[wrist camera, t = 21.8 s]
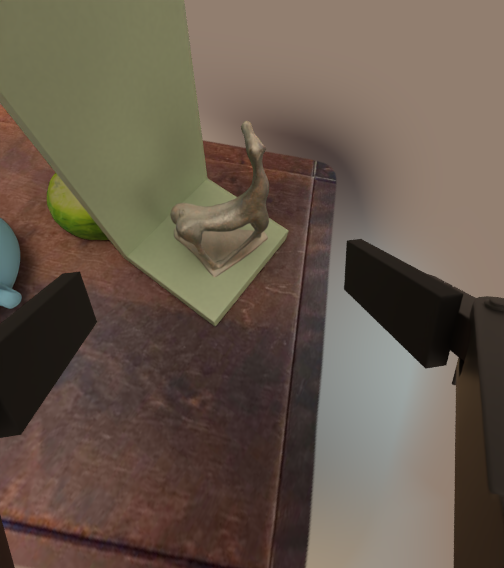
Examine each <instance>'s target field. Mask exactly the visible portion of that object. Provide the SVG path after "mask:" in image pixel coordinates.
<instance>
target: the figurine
mask: <svg viewBox="0 0 504 568" xmlns="http://www.w3.org/2000/svg"><path fill="white" fill-rule="evenodd" d="M241 129H242V132H243V134H244V138H245V144H246V151H247V155H248V157H249V159H250V162H251V164H252V167H253V180H252V184H251V186H250V188H249V189H248V190H247V191H246V192H245V193H244V194H242V195H240V196H239V197H237V198H235V199H233V200H231V201H228V202H226V203H222V204H218V205H214V206H208V207H205V206H197V205H193V204H188V203H178V204H176V205H175V206H174V207H173V208H172V210H171V213H170V216H171V220H172V222H173V223H174V224H176V228H175V229H174V237H175V239H176V240H178V241H179V242H180V243H181V244H183V245H184V246H185V247H186V248H187V249H189V250H190V251H191V252H192V253H193V254H194V255H195V256H196V257H197V258H198V259H199V260H200V262H201V263H202V264H203V265H204V267H205V268H206V269H207V271H208V272H209V273H210V274H211V275H212V276H213V277H217V276H218V275H220V274H221V273H223V272H225V271H226V270H228V269H229V268H231V267H232V266H234V265H235V264H236V263H238V262H239V261H241V260H242V259H244V258H245V257H246V256H248V255H249V254H250V253H252V252H253V251H254V250H255V249H257V248H258V247H259V246H260V245H261V244H262V243H263V242H265V241H266V240H267V239H268V236H267V234H266V233H265V232H264V231H265V230H266V228H267V227H268V224H269V217H268V214H267V210H266V199H267V196H268V192H269V182H268V179H267V176H266V174H265V172H264V169H263V165H262V158H263V154H264V152H265V150H266V147H265V146H264V145H263V144H262V143H261V141H260V139H259V138H258V137H257V136H256V135H255V133H254V132H253V128H252V125H251V123H250V122H248V121H245V122H244V123H243V124H242V126H241ZM249 223H250V224H251V226H252V227H253V228H254V231H252V230H242V229H238V228H241V227H243V226H245V225H247V224H249Z"/></svg>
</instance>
